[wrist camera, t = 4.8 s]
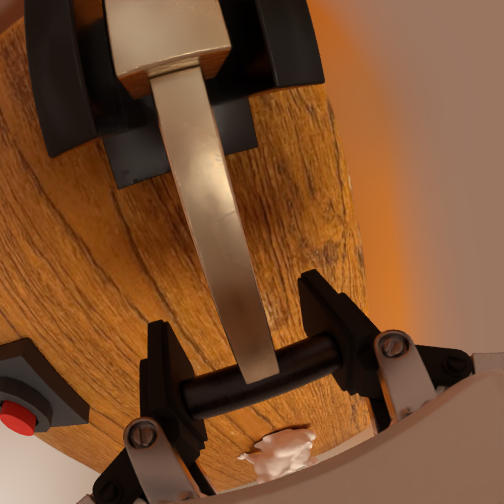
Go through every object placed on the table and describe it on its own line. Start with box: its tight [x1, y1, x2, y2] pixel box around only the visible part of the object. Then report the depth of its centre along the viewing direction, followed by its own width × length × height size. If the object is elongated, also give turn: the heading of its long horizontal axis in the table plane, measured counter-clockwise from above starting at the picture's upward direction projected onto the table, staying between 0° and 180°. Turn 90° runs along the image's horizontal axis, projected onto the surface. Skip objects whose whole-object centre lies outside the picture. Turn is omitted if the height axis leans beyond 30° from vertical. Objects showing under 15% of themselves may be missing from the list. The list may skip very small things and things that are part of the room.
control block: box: [0, 338, 90, 432], centre depth 17 cm, size 10×10×4 cm
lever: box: [101, 0, 343, 421], centre depth 6 cm, size 12×5×2 cm, turn 12°
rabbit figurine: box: [237, 429, 318, 484], centre depth 29 cm, size 12×8×10 cm, turn 106°
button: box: [0, 400, 36, 436], centre depth 15 cm, size 4×4×2 cm
